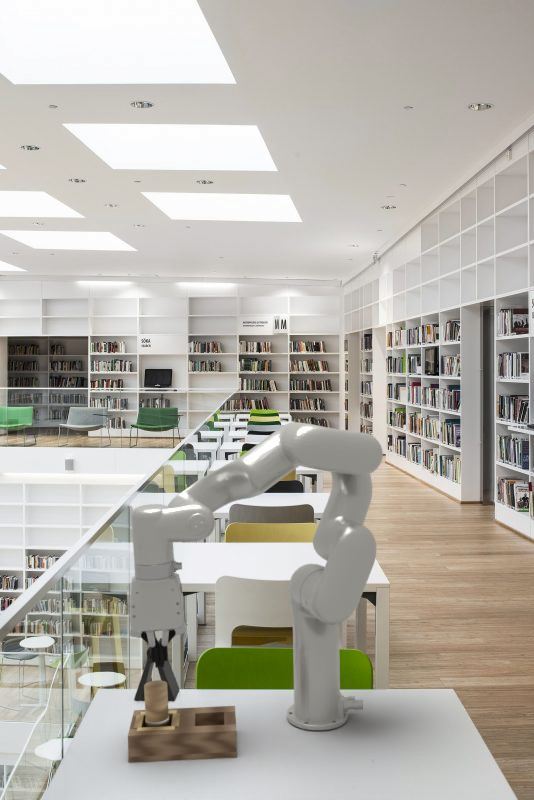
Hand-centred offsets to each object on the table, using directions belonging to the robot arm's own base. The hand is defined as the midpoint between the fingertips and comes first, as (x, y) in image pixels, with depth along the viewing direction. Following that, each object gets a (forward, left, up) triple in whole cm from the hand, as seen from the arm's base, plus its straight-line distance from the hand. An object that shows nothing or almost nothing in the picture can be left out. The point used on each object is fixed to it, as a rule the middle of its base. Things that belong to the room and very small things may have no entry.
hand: (160, 664), depth 150 cm
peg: (+1, 0, -15) cm, 15 cm away
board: (-4, 0, -16) cm, 16 cm away
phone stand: (+3, -24, -16) cm, 29 cm away
